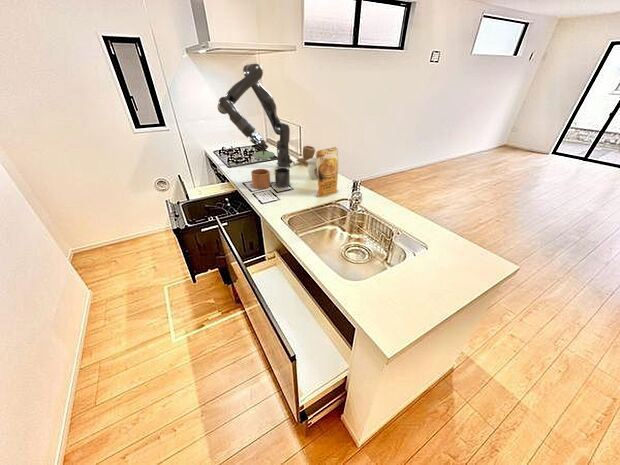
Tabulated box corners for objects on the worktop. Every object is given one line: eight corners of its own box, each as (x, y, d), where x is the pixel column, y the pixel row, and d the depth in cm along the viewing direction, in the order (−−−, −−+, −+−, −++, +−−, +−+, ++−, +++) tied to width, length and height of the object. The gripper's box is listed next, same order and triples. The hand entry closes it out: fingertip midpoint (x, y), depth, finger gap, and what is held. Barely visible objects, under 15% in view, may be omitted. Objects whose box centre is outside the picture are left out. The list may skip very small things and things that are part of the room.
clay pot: (267, 181, 181) (266, 168, 176) (272, 187, 171) (271, 173, 166) (251, 183, 177) (249, 169, 172) (254, 189, 167) (253, 175, 162)
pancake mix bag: (311, 194, 162) (312, 150, 147) (333, 188, 172) (337, 145, 157) (318, 198, 158) (319, 152, 143) (340, 191, 168) (344, 148, 153)
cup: (287, 181, 182) (286, 167, 176) (291, 186, 174) (291, 171, 168) (273, 182, 178) (273, 168, 173) (277, 188, 171) (277, 173, 165)
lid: (271, 152, 172) (270, 136, 166) (277, 158, 161) (276, 141, 155) (251, 154, 167) (249, 138, 162) (255, 160, 156) (253, 143, 151)
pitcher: (330, 177, 189) (331, 159, 182) (310, 182, 180) (310, 163, 173) (321, 173, 197) (322, 155, 189) (301, 177, 188) (301, 159, 181)
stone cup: (317, 165, 212) (317, 147, 204) (304, 167, 207) (304, 149, 199) (308, 160, 223) (308, 143, 215) (296, 162, 218) (295, 144, 210)
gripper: (245, 125, 148) (267, 147, 154) (253, 121, 160) (273, 142, 165) (237, 134, 152) (259, 156, 157) (245, 129, 163) (265, 149, 169)
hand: (266, 148), depth 161 cm, fingers closed on lid, 3 cm apart
